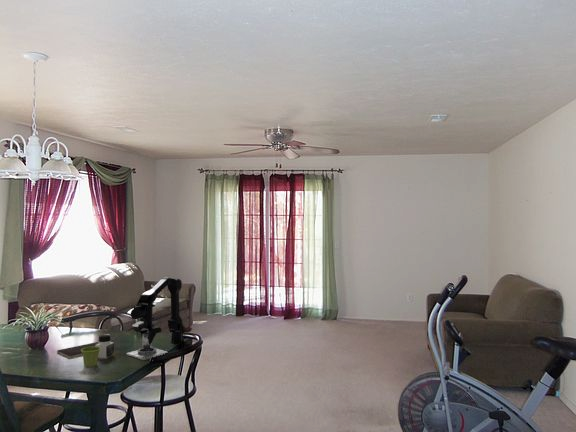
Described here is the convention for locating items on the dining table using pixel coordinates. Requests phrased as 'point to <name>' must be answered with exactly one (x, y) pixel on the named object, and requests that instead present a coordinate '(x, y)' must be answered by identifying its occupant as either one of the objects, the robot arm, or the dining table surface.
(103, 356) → the medicine bottle
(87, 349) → the plant pot
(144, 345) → the duct coupling
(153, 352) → the plate
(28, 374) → the dining table surface
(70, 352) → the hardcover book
